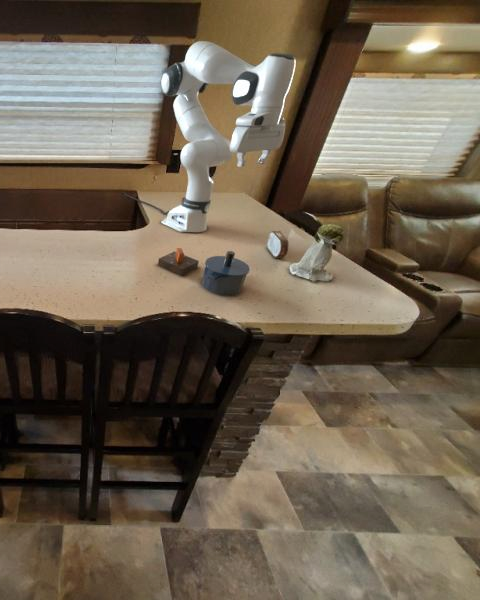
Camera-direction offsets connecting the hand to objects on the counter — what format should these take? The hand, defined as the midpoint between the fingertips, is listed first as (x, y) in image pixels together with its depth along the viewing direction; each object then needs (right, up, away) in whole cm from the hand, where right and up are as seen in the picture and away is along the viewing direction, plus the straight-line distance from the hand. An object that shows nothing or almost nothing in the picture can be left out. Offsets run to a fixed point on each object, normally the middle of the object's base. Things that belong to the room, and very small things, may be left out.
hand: (250, 165), depth 102 cm
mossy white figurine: (+25, -38, +6) cm, 45 cm away
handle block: (-22, -34, +11) cm, 42 cm away
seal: (-22, -31, +10) cm, 39 cm away
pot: (-10, -42, 0) cm, 43 cm away
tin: (+21, -28, +20) cm, 40 cm away
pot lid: (-10, -36, -4) cm, 37 cm away
